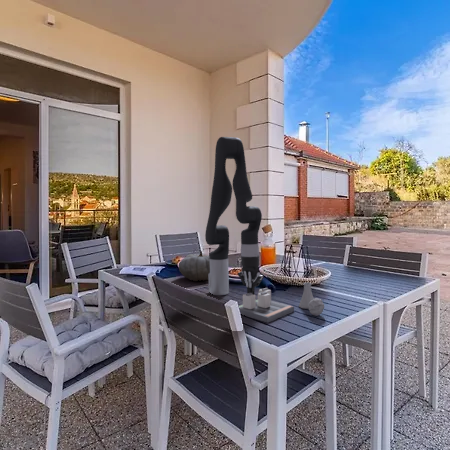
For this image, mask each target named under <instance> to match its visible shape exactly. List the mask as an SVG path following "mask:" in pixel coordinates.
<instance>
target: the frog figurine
mask: <svg viewBox="0 0 450 450" xmlns="http://www.w3.org/2000/svg"><path fill="white" fill-rule="evenodd" d="M313 298H314V297H313ZM308 308H309V309H308V310H309V313H310V314H311V315H312V316H315V317H318V316H321V314H323V312H324V310H325V304H324V302H323V300H322V299H321V298H318V297H315V298H314V299H313V300H311V301H310V302H309V304H308Z"/></svg>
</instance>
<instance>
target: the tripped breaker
mask: <svg viewBox="0 0 450 450" xmlns="http://www.w3.org/2000/svg"><path fill="white" fill-rule="evenodd" d="M257 299H258V306H259V307H263V308H268V307H270V306H271V305H270V294H268V293H267V292H262V293H259V292H258V293H257Z"/></svg>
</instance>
